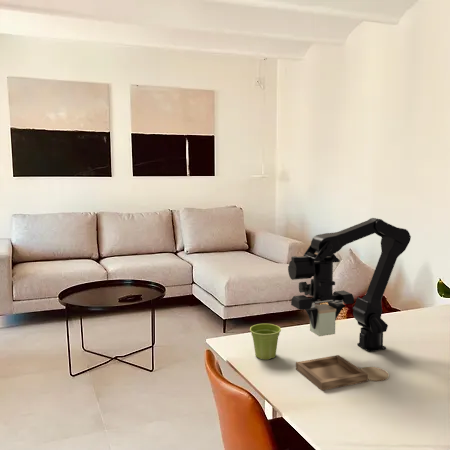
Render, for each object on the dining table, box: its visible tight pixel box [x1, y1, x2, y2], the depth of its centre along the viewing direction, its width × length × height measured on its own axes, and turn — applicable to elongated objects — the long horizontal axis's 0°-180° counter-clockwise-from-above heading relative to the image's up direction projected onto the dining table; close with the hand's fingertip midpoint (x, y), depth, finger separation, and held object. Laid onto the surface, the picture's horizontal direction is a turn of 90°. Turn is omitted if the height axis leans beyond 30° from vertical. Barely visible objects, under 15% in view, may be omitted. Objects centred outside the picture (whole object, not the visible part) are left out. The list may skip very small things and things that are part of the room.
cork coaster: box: [360, 366, 390, 382], centre depth 132 cm, size 8×8×1 cm
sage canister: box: [309, 303, 336, 337], centre depth 146 cm, size 6×6×8 cm
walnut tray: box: [295, 354, 369, 391], centre depth 132 cm, size 14×14×2 cm
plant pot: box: [249, 323, 282, 361], centre depth 146 cm, size 9×9×9 cm
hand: (322, 327), depth 146 cm, fingers closed on sage canister, 5 cm apart
